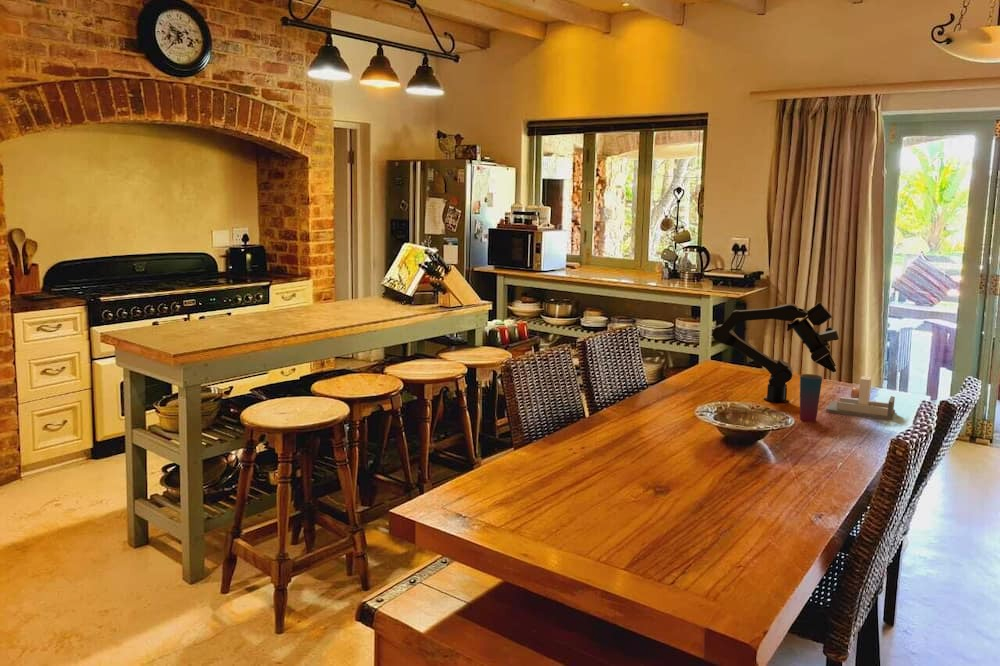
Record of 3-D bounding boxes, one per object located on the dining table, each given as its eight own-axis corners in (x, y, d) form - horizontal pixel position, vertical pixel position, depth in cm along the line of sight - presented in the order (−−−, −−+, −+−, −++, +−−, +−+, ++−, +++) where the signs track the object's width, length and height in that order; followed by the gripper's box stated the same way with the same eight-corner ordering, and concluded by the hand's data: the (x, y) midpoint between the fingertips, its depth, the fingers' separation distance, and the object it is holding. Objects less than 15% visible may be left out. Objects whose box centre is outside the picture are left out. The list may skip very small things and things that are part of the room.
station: (826, 411, 265) (827, 395, 264) (831, 404, 275) (832, 388, 274) (891, 420, 255) (893, 403, 254) (894, 412, 265) (896, 395, 264)
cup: (795, 421, 254) (799, 377, 251) (798, 416, 260) (801, 373, 257) (817, 423, 251) (821, 379, 248) (819, 418, 257) (823, 375, 254)
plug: (849, 408, 264) (852, 378, 262) (851, 405, 269) (854, 375, 267) (867, 411, 261) (869, 380, 259) (868, 407, 266) (871, 377, 264)
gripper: (827, 324, 260) (856, 361, 258) (826, 317, 277) (854, 351, 275) (799, 343, 264) (827, 379, 263) (800, 334, 281) (826, 368, 280)
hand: (834, 369), depth 270 cm, fingers open, 9 cm apart
